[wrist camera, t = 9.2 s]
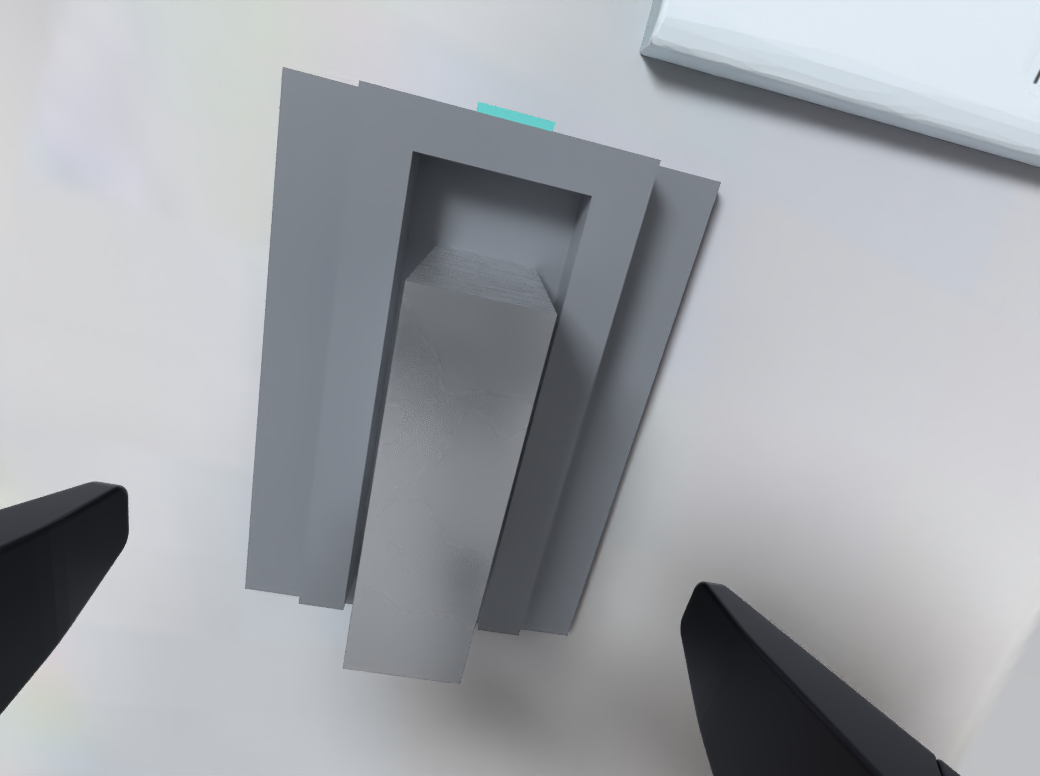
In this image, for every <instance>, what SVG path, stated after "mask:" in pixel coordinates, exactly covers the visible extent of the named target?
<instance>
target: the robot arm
mask: <svg viewBox="0 0 1040 776" xmlns="http://www.w3.org/2000/svg"><path fill="white" fill-rule="evenodd" d="M128 534H129V517H128V493H127V490H126V489H125V488H124V487H123V486H121V485H115V484H109V483H103V482H89V483H86V484H83V485H79V486H76V487H73V488H70V489H66V490H63V491H60V492H56V493H53V494H50V495H47V496H43V497H40V498H37V499H34V500H30V501H27V502H24V503H20V504H17V505H14V506H11V507H7V508H4V509H1V510H0V715H1V713H2V712H3V711H4V710H5V709H6V707H7V706H8V705H9V704H10V702H11V701H12V700H13V699H14V698H15V696H16V695H17V694H18V693H19V692H20V690H21V689H22V688H23V687H24V686H25V684H26V683H27V682H28V681H29V680H30V678H31V677H32V676H33V675H34V673H35V672H36V671H37V670H38V669H39V667H40V666H41V665H42V664H43V663H44V661H45V660H46V659H47V658H48V656H49V655H50V654H51V653H52V651H53V650H54V649H55V648H56V646H57V645H58V644H59V642H60V641H61V640H62V638H63V637H64V635H65V634H66V633H67V631H68V630H69V628H70V627H71V626H72V624H73V623H74V621H75V620H76V618H77V617H78V615H79V614H80V612H81V611H82V609H83V608H84V606H85V605H86V603H87V602H88V600H89V599H90V597H91V596H92V595H93V593H94V592H95V590H96V589H97V587H98V586H99V584H100V583H101V581H102V580H103V578H104V577H105V575H106V574H107V572H108V571H109V569H110V568H111V566H112V565H113V563H114V562H115V560H116V559H117V557H118V556H119V555H120V553H121V552H122V550H123V548H124V546H125V544H126V542H127V539H128ZM680 628H681V638H682V643H683V648H684V653H685V658H686V664H687V669H688V674H689V679H690V684H691V690H692V695H693V700H694V705H695V710H696V715H697V719H698V724H699V728H700V732H701V735H702V739H703V743H704V746H705V749H706V753H707V756H708V760H709V763H710V766H711V770H712V773H713V776H960V775H959V774H958V773H957V772H955V771H954V770H953V769H952V768H950V767H949V766H948V765H947V764H945V763H944V762H943V761H942V760H939V759H938V760H936V757H935V755H934V754H933V753H932V752H930V751H929V750H928V749H927V748H925V747H924V746H923V745H922V744H921V743H919V742H918V741H917V740H916V739H914V738H913V737H912V736H911V735H909V734H908V733H907V732H906V731H904V730H903V729H902V728H901V727H899V726H898V725H897V724H896V723H894V722H893V721H892V720H891V719H890V718H888V717H887V716H886V715H885V714H883V713H882V712H881V711H880V710H878V709H877V708H876V707H875V706H873V705H872V704H871V703H870V702H868V701H867V700H866V699H865V698H864V697H862V696H861V695H860V694H859V693H857V692H856V691H855V690H854V689H852V688H851V687H850V686H849V685H847V684H846V683H845V682H844V681H842V680H841V679H840V678H839V677H838V676H836V675H835V674H834V673H833V672H831V671H830V670H829V669H828V668H826V667H825V666H824V665H823V664H821V663H820V662H819V661H818V660H816V659H815V658H814V657H813V656H812V655H810V654H809V653H808V652H807V651H805V650H804V649H803V648H802V647H800V646H799V645H798V644H797V643H795V642H794V641H793V640H792V639H790V638H789V637H788V636H787V635H786V634H784V633H783V632H782V631H781V630H779V629H778V628H777V627H776V626H774V625H773V624H772V623H771V622H769V621H768V620H767V619H766V618H765V617H763V616H762V615H761V614H760V613H758V612H757V611H756V610H755V609H753V608H752V607H751V606H750V605H748V604H747V603H746V602H745V601H743V600H742V599H741V598H740V597H739V596H737V595H736V594H735V593H734V592H732V591H731V590H730V589H729V588H727V587H726V586H724V585H722V584H716V583H710V582H700V583H698V584H697V585H696V587H695V589H694V591H693V593H692V596H691V598H690V600H689V603H688V605H687V607H686V610H685V612H684V614H683V617H682V620H681V627H680Z"/></svg>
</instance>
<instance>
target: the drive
mask: <svg viewBox="0 0 1040 776" xmlns="http://www.w3.org/2000/svg"><path fill="white" fill-rule="evenodd" d="M556 317H557V313H556V311H555V309H554V307H553V305H552V303H551V300H550V298H549V296H548V294H547V292H546V290H545V288H544V286H543V284H542V281H541V279H540V277H539V275H538V273H537V271H536V269H535V267H532V266H528V265H524V264H520V263H515V262H511V261H507V260H502V259H498V258H494V257H489V256H485V255H481V254H477V253H472V252H468V251H464V250H459V249H455V248H451V247H447V246H442V245H438V244H437V245H436V246H435V247H434V248H433V249H432V251H431V252H430V253H429V254H428V255H427V256H426V257H425V259H424V260H423V261H422V262H421V263H420V264H419V265H418V267H417V268H416V269H415V270H414V271H413V272H412V273H411V275H410V276H409V277H408V278H407V279H406V280H405V285H404V291H403V298H402V304H401V310H400V316H399V322H398V329H397V335H396V341H395V347H394V353H393V360H392V366H391V372H390V378H389V384H388V391H387V397H386V403H385V409H384V415H383V422H382V428H381V434H380V440H379V446H378V453H377V459H376V465H375V471H374V477H373V484H372V490H371V496H370V502H369V509H368V515H367V521H366V527H365V533H364V540H363V546H362V552H361V558H360V564H359V571H358V577H357V583H356V589H355V595H354V602H353V607H352V613H351V619H350V626H349V632H348V639H347V645H346V651H345V657H344V664H343V669H350V670H358V671H365V672H373V673H380V674H388V675H395V676H403V677H411V678H418V679H426V680H433V681H441V682H448V683H456V684H460V682H461V678H462V674H463V670H464V666H465V663H466V659H467V655H468V651H469V647H470V644H471V640H472V636H473V632H474V628H475V625H476V621H477V617H478V613H479V609H480V606H481V602H482V598H483V594H484V590H485V587H486V583H487V579H488V575H489V571H490V568H491V564H492V560H493V556H494V553H495V549H496V545H497V541H498V537H499V534H500V530H501V526H502V522H503V518H504V515H505V511H506V507H507V503H508V499H509V496H510V492H511V488H512V484H513V480H514V477H515V473H516V469H517V465H518V461H519V458H520V454H521V450H522V446H523V442H524V439H525V435H526V431H527V427H528V423H529V420H530V416H531V412H532V408H533V405H534V401H535V397H536V393H537V389H538V386H539V382H540V378H541V374H542V370H543V367H544V363H545V359H546V355H547V351H548V348H549V344H550V340H551V336H552V332H553V329H554V325H555V321H556Z"/></svg>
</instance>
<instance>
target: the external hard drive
mask: <svg viewBox="0 0 1040 776" xmlns="http://www.w3.org/2000/svg"><path fill="white" fill-rule="evenodd" d="M640 54H641V55H644V56H647V57H651V58H655V59H659V60H663V61H666V62H670V63H673V64H677V65H680V66H684V67H687V68H691V69H694V70H698V71H701V72H705V73H708V74H711V75H714V76H719V77H722V78H726V79H730V80H733V81H737V82H741V83H744V84H748V85H751V86H755V87H759V88H762V89H766V90H769V91H773V92H776V93H780V94H783V95H787V96H790V97H794V98H797V99H801V100H804V101H808V102H811V103H815V104H818V105H822V106H826V107H829V108H833V109H836V110H839V111H843V112H846V113H850V114H854V115H858V116H861V117H864V118H868V119H872V120H875V121H878V122H882V123H885V124H889V125H892V126H896V127H899V128H903V129H906V130H910V131H914V132H917V133H921V134H924V135H927V136H931V137H934V138H938V139H941V140H945V141H948V142H952V143H956V144H959V145H962V146H966V147H969V148H973V149H977V150H980V151H984V152H987V153H991V154H994V155H998V156H1001V157H1005V158H1008V159H1012V160H1016V161H1019V162H1022V163H1026V164H1029V165H1033V166H1037V167H1040V0H653V4H652V7H651V11H650V15H649V19H648V22H647V26H646V30H645V33H644V37H643V40H642V44H641V48H640Z"/></svg>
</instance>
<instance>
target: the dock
mask: <svg viewBox="0 0 1040 776" xmlns="http://www.w3.org/2000/svg"><path fill="white" fill-rule="evenodd" d="M554 125H555V122H552V121H548V120H545V119H541V118H537V117H533V116H530V115H526V114H522V113H518V112H515V111H511V110H507V109H503V108H500V107H496V106H492V105H488V104H485V103H481V102H478V106H477V112H476V111H473V110H469V109H465V108H461V107H457V106H454V105H450V104H446V103H442V102H438V101H435V100H431V99H427V98H423V97H420V96H416V95H412V94H408V93H404V92H401V91H397V90H393V89H389V88H386V87H382V86H378V85H374V84H370V83H367V82H363V81H359V87H357V86H353V85H349V84H345V83H342V82H338V81H334V80H330V79H326V78H323V77H319V76H315V75H311V74H307V73H304V72H300V71H296V70H292V69H288V68H285V67H283V71H282V85H281V99H280V112H279V126H278V140H277V154H276V168H275V182H274V196H273V210H272V224H271V237H270V251H269V265H268V279H267V293H266V307H265V321H264V335H263V349H262V363H261V376H260V390H259V404H258V418H257V432H256V446H255V460H254V474H253V488H252V501H251V515H250V529H249V543H248V557H247V571H246V585H245V589H252V590H259V591H265V592H272V593H279V594H286V595H293V596H300V597H299V604H305V605H312V606H319V607H326V608H333V609H340V610H343V609H344V606H345V603H347V604H353V602H354V595H355V589H356V583H357V577H358V571H359V564H360V558H361V552H362V546H363V540H364V533H365V527H366V521H367V515H368V509H369V502H370V496H371V490H372V484H373V477H374V471H375V465H376V459H377V453H378V446H379V440H380V434H381V428H382V422H383V415H384V409H385V403H386V397H387V391H388V384H389V378H390V372H391V366H392V360H393V353H394V347H395V341H396V335H397V329H398V322H399V316H400V310H401V304H402V298H403V291H404V285H405V280H406V279H407V278H408V277H409V276H410V275H411V273H412V272H413V271H414V270H415V269H416V268H417V267H418V265H419V264H420V263H421V262H422V261H423V260H424V259H425V257H426V256H427V255H428V254H429V253H430V252H431V251H432V249H433V248H434V247H435V246H436V245H437V244H438V245H442V246H447V247H451V248H455V249H459V250H464V251H468V252H472V253H477V254H481V255H485V256H489V257H494V258H498V259H502V260H507V261H511V262H515V263H520V264H524V265H528V266H532V267H535V269H536V271H537V273H538V275H539V277H540V279H541V281H542V284H543V286H544V288H545V290H546V292H547V294H548V296H549V298H550V300H551V303H552V305H553V307H554V309H555V311H556V313H557V317H556V321H555V325H554V329H553V332H552V336H551V340H550V344H549V348H548V351H547V355H546V359H545V363H544V367H543V370H542V374H541V378H540V382H539V386H538V389H537V393H536V397H535V401H534V405H533V408H532V412H531V416H530V420H529V423H528V427H527V431H526V435H525V439H524V442H523V446H522V450H521V454H520V458H519V461H518V465H517V469H516V473H515V477H514V480H513V484H512V488H511V492H510V496H509V499H508V503H507V507H506V511H505V515H504V518H503V522H502V526H501V530H500V534H499V537H498V541H497V545H496V549H495V553H494V556H493V560H492V564H491V568H490V571H489V575H488V579H487V583H486V587H485V590H484V594H483V598H482V602H481V606H480V609H479V613H478V617H477V621H476V622H477V623H478V630H485V631H492V632H499V633H506V634H512V635H519V632H520V629H525V630H532V631H539V632H546V633H552V634H559V635H566V636H567V635H568V632H569V629H570V626H571V623H572V620H573V617H574V614H575V611H576V608H577V605H578V602H579V599H580V596H581V594H582V591H583V588H584V585H585V582H586V579H587V576H588V573H589V570H590V567H591V564H592V561H593V558H594V555H595V552H596V549H597V546H598V543H599V540H600V538H601V535H602V532H603V529H604V526H605V523H606V520H607V517H608V514H609V511H610V508H611V505H612V502H613V499H614V496H615V493H616V490H617V487H618V484H619V482H620V479H621V476H622V473H623V470H624V467H625V464H626V461H627V458H628V455H629V452H630V449H631V446H632V443H633V440H634V437H635V434H636V431H637V428H638V426H639V423H640V420H641V417H642V414H643V411H644V408H645V405H646V402H647V399H648V396H649V393H650V390H651V387H652V384H653V381H654V378H655V375H656V372H657V370H658V367H659V364H660V361H661V358H662V355H663V352H664V349H665V346H666V343H667V340H668V337H669V334H670V331H671V328H672V325H673V322H674V319H675V316H676V314H677V311H678V308H679V305H680V302H681V299H682V296H683V293H684V290H685V287H686V284H687V281H688V278H689V275H690V272H691V269H692V266H693V263H694V260H695V258H696V255H697V252H698V249H699V246H700V243H701V240H702V237H703V234H704V231H705V228H706V225H707V222H708V219H709V216H710V213H711V210H712V207H713V204H714V202H715V199H716V196H717V193H718V190H719V187H720V184H721V182H718V181H714V180H710V179H707V178H703V177H699V176H695V175H691V174H688V173H684V172H680V171H676V170H672V169H669V168H665V167H661V166H659V164H660V161H661V160H658V159H654V158H650V157H646V156H643V155H639V154H635V153H631V152H628V151H624V150H620V149H616V148H612V147H609V146H605V145H601V144H597V143H594V142H590V141H586V140H582V139H578V138H575V137H571V136H567V135H563V134H559V133H556V132H553V130H554Z"/></svg>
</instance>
